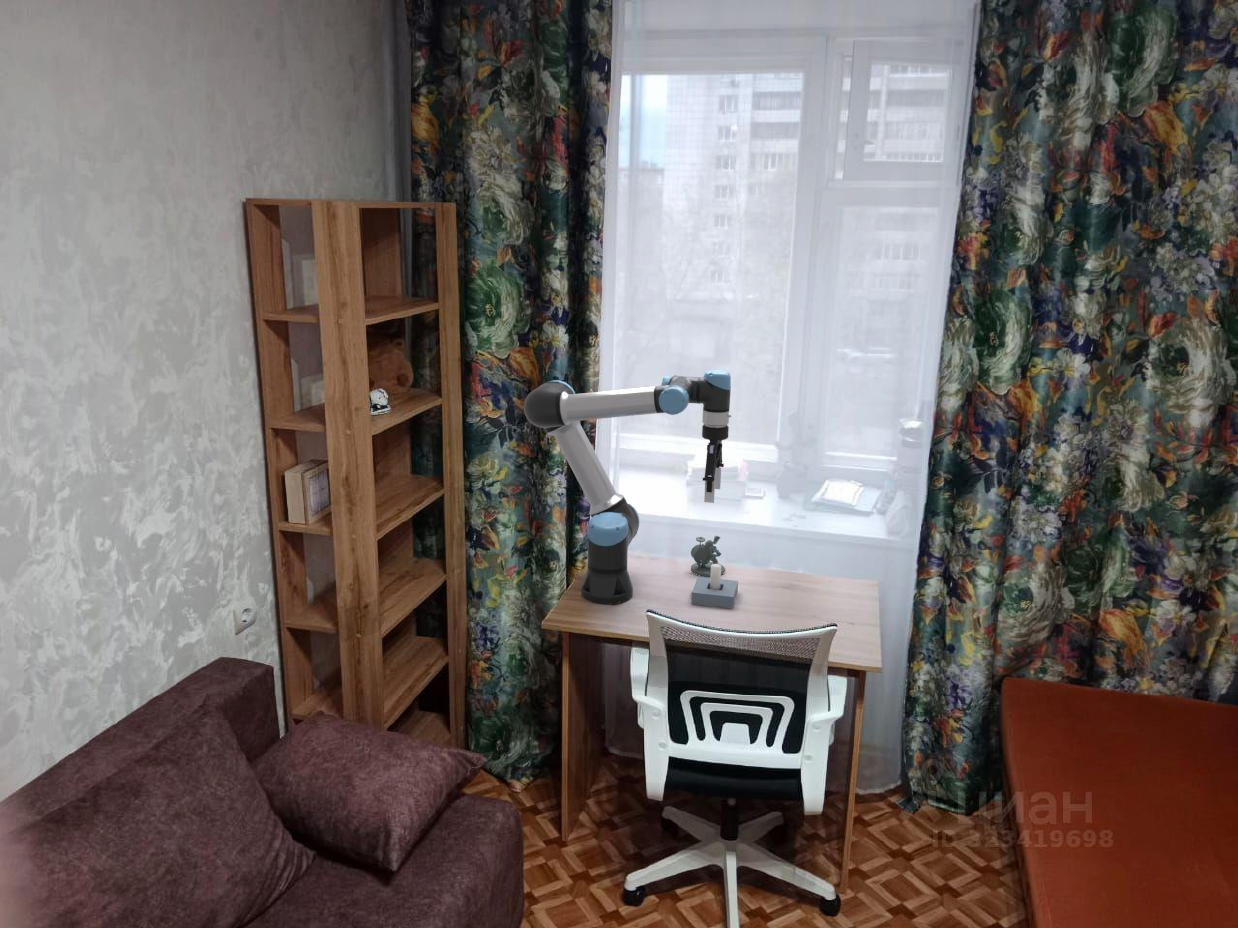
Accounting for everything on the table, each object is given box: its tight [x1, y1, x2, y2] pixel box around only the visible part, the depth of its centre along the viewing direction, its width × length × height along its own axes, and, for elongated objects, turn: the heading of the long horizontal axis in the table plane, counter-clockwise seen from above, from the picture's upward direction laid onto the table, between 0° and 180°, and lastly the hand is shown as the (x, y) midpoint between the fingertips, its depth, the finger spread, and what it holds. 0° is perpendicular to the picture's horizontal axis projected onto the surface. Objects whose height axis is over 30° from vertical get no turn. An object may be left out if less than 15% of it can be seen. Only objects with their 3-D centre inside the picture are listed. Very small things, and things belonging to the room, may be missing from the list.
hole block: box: [690, 576, 739, 609], centre depth 269 cm, size 12×12×4 cm
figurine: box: [690, 535, 726, 578], centre depth 288 cm, size 11×11×12 cm
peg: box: [709, 563, 722, 590], centre depth 268 cm, size 3×3×10 cm
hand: (712, 495), depth 270 cm, fingers open, 13 cm apart
